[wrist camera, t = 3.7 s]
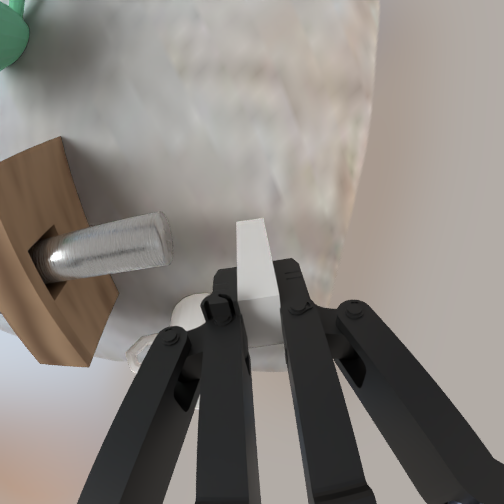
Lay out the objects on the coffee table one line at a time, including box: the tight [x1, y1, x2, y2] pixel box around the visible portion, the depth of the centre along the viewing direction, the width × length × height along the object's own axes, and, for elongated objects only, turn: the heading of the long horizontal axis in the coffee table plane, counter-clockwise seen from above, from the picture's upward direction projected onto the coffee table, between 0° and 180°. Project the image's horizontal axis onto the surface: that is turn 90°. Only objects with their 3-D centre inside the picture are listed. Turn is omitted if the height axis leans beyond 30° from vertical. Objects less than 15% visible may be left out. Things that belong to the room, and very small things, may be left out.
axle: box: [28, 211, 173, 284], centre depth 18 cm, size 20×4×4 cm, turn 98°
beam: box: [0, 136, 119, 367], centre depth 20 cm, size 7×18×10 cm, turn 8°
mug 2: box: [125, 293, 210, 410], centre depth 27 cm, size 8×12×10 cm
